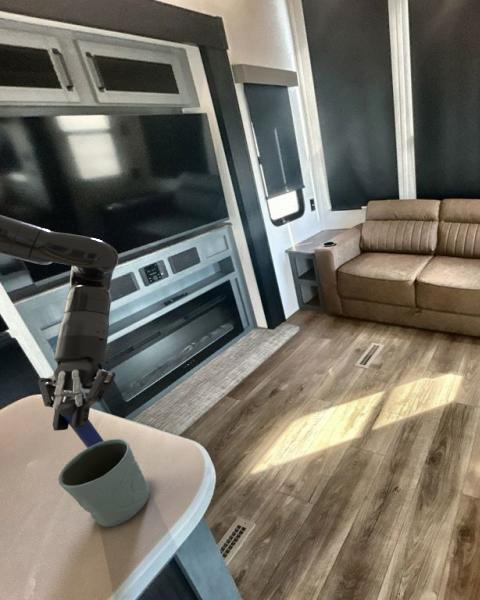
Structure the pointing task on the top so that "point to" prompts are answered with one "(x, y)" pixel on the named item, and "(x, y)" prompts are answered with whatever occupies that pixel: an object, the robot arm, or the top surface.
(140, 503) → the grey-green cup
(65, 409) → the marker
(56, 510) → the top surface
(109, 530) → the top surface
